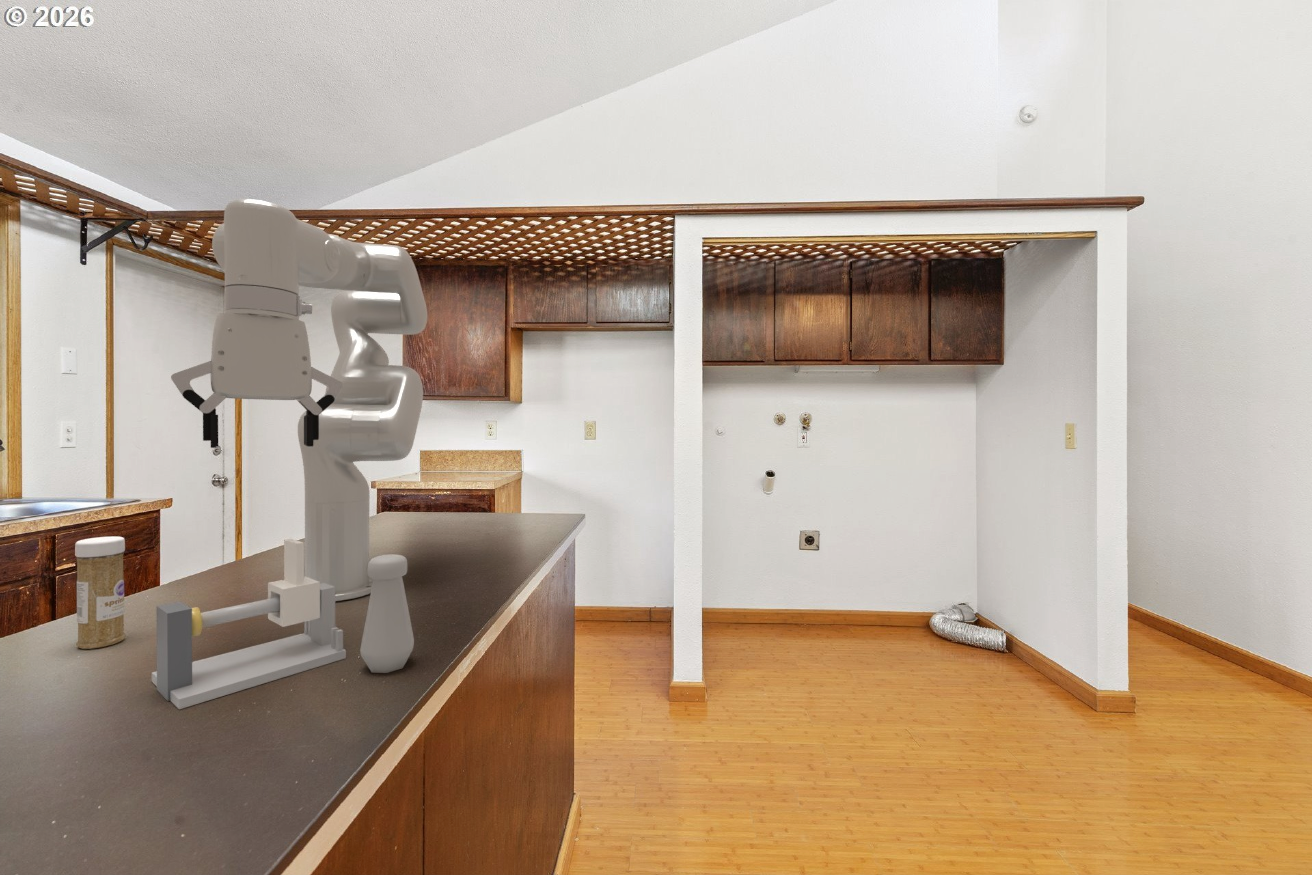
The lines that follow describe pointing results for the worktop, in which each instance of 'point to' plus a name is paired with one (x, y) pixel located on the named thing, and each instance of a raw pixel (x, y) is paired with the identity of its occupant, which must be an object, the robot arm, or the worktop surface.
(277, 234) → the robot arm
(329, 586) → the slider rail rig
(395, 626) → the salt shaker
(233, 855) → the worktop surface
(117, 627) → the sprinkles bottle
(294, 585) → the square collar block
